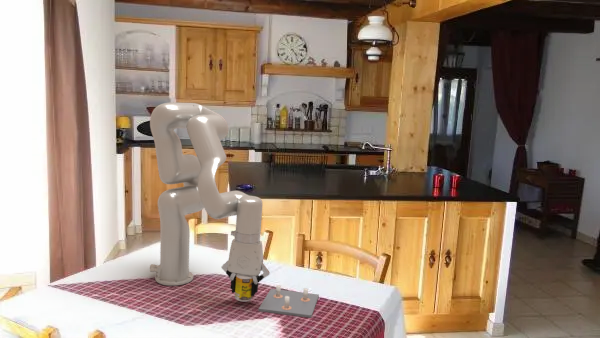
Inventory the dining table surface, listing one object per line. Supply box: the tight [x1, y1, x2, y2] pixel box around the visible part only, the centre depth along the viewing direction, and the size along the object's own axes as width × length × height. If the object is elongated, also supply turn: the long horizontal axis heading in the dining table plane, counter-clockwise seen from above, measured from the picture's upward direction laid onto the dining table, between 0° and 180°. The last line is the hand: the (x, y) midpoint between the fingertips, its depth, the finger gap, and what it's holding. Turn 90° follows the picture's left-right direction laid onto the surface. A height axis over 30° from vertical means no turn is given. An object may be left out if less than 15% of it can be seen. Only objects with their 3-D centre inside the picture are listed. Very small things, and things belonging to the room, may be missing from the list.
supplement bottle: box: [234, 274, 254, 303], centre depth 153 cm, size 6×6×10 cm
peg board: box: [258, 284, 320, 319], centre depth 155 cm, size 16×16×4 cm
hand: (243, 292), depth 154 cm, fingers closed on supplement bottle, 5 cm apart
